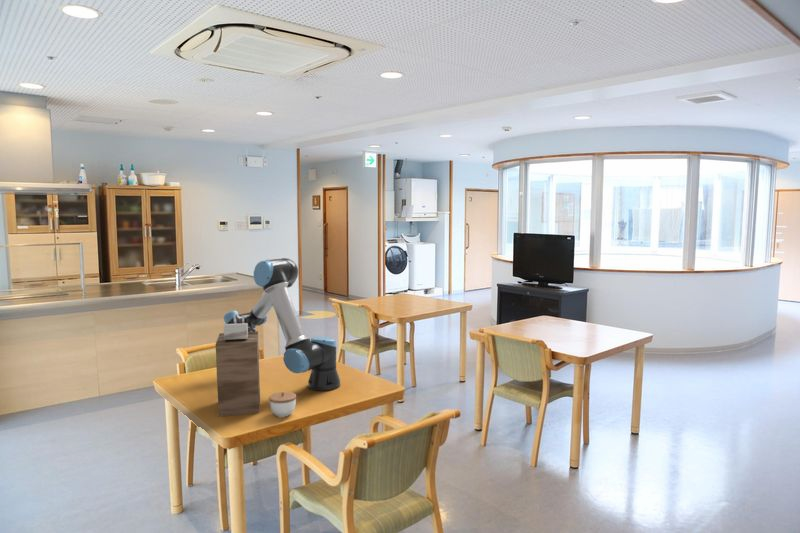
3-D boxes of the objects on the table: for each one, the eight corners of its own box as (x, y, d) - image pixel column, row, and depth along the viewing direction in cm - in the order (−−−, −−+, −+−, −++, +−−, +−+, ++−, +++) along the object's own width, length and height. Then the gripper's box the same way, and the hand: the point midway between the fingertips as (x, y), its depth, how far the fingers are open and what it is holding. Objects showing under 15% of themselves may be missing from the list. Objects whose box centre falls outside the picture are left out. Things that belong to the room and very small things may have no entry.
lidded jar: (264, 415, 221) (263, 393, 220) (283, 407, 230) (282, 386, 229) (283, 421, 215) (282, 398, 214) (302, 413, 224) (301, 390, 223)
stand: (259, 412, 225) (256, 341, 221) (218, 416, 221) (215, 343, 218) (260, 397, 243) (257, 331, 240) (222, 400, 239) (219, 333, 236)
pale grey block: (247, 338, 222) (246, 323, 223) (224, 339, 221) (223, 324, 221) (250, 333, 250) (250, 320, 250) (230, 334, 248) (230, 321, 248)
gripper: (259, 341, 261) (257, 325, 240) (224, 343, 257) (219, 327, 236) (258, 326, 264) (257, 309, 243) (224, 327, 260) (219, 311, 239)
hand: (238, 318), depth 240 cm, fingers closed on pale grey block, 3 cm apart
